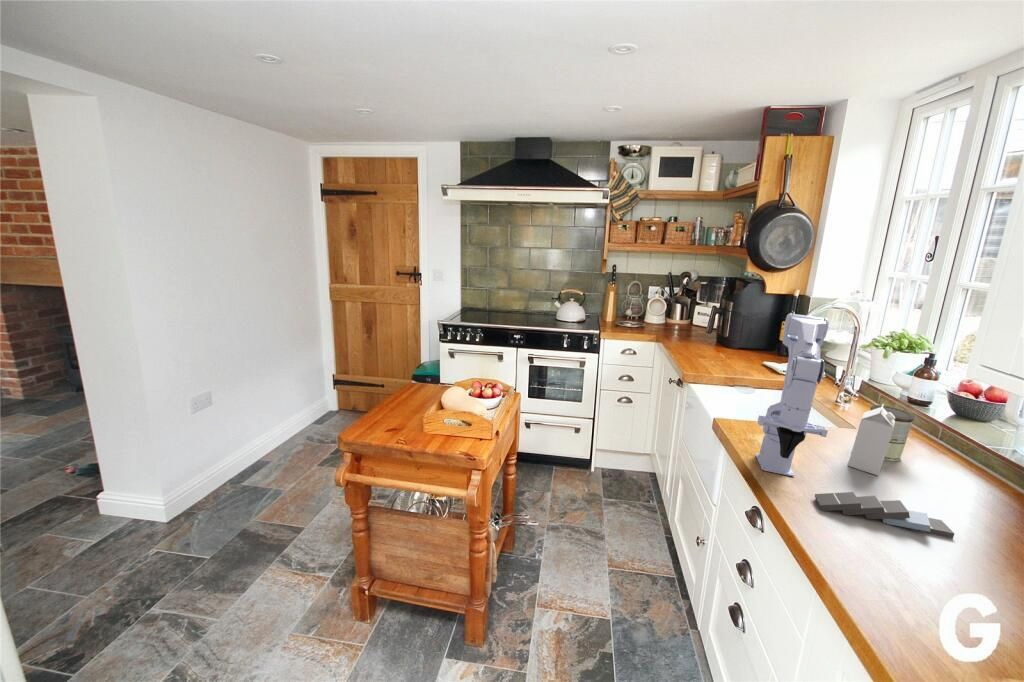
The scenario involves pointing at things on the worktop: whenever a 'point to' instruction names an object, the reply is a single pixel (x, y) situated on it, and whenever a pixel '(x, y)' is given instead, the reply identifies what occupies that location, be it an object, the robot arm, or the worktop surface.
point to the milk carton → (872, 440)
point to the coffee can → (897, 432)
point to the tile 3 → (890, 511)
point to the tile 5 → (938, 528)
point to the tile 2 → (866, 506)
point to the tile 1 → (838, 501)
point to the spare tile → (912, 521)
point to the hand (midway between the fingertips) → (783, 456)
